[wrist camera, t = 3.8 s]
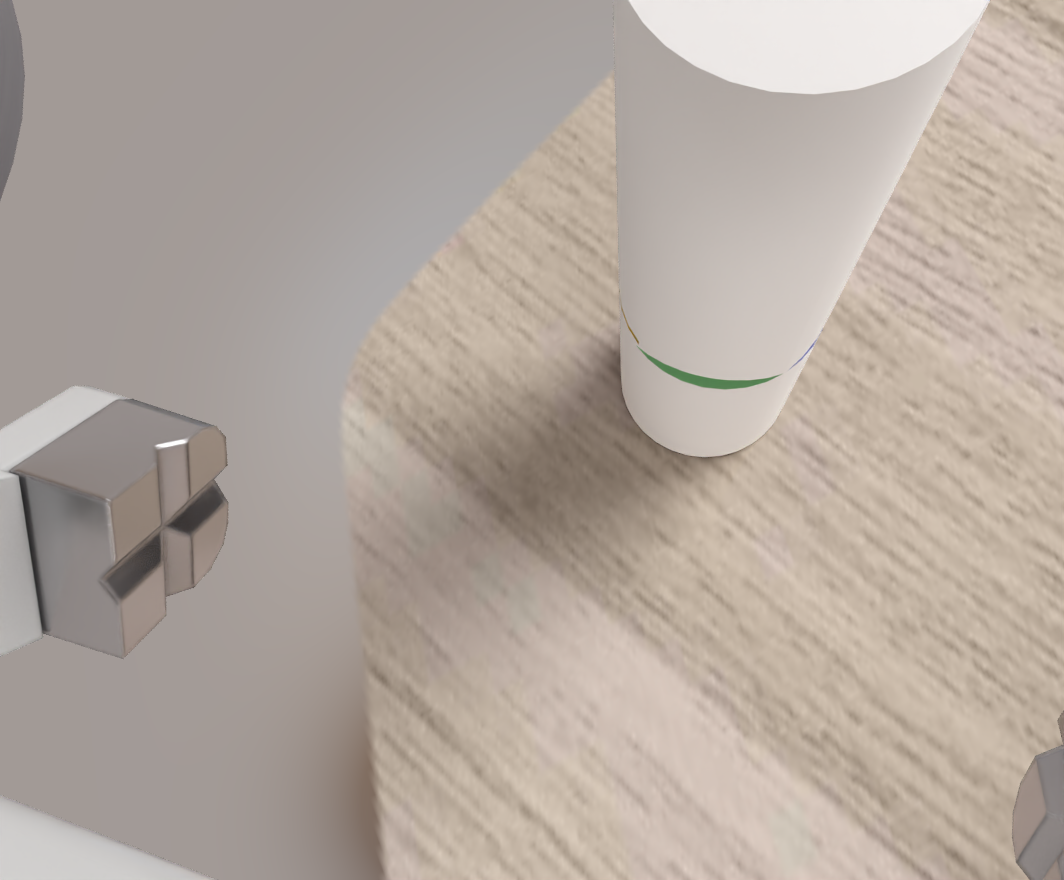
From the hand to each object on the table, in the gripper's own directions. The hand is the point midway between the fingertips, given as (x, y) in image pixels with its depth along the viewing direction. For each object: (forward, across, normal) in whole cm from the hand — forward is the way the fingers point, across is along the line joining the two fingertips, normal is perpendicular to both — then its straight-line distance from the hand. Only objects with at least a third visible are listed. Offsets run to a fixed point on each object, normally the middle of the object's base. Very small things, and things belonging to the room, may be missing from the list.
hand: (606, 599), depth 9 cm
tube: (+16, 0, +5) cm, 17 cm away
